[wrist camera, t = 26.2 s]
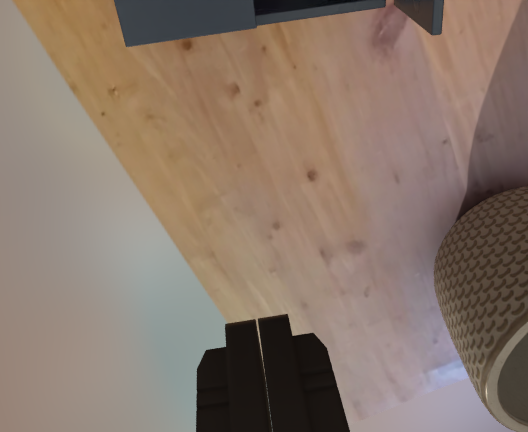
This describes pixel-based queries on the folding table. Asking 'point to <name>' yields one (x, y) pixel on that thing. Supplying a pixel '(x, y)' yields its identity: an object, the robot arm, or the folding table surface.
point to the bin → (348, 10)
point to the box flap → (181, 19)
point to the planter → (490, 301)
